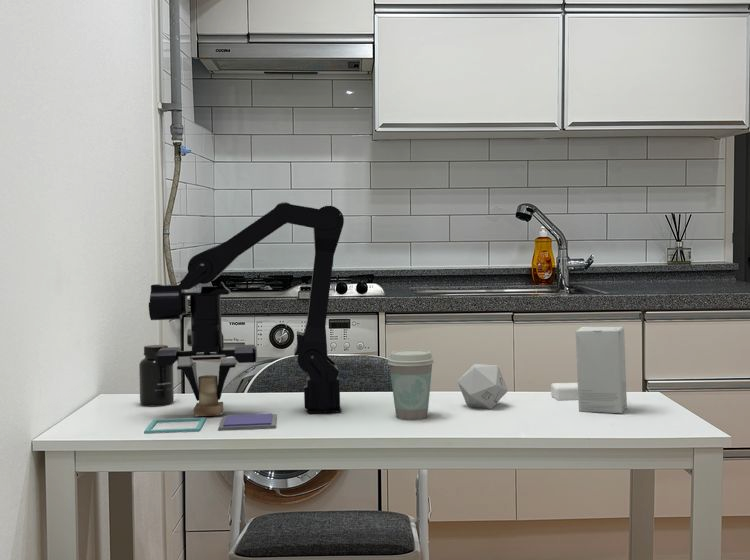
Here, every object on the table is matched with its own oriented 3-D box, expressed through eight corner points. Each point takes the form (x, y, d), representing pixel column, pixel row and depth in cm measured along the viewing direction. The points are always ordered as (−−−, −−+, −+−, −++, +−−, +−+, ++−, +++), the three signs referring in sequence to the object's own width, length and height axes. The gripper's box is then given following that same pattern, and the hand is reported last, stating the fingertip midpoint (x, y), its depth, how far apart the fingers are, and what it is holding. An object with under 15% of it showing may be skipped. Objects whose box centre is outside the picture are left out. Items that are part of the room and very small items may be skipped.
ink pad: (276, 416, 158) (276, 412, 158) (275, 428, 148) (275, 423, 148) (223, 418, 157) (223, 414, 157) (218, 430, 147) (218, 426, 147)
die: (472, 416, 158) (504, 374, 157) (441, 388, 164) (472, 347, 163) (492, 424, 165) (523, 383, 163) (462, 396, 170) (492, 357, 169)
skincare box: (627, 408, 159) (626, 326, 158) (622, 415, 153) (621, 330, 152) (582, 405, 163) (582, 325, 162) (575, 411, 157) (575, 328, 156)
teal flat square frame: (205, 419, 157) (205, 417, 157) (200, 431, 147) (199, 428, 147) (153, 421, 156) (153, 419, 156) (144, 433, 146) (144, 431, 146)
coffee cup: (382, 420, 153) (380, 354, 152) (398, 410, 161) (396, 348, 160) (426, 422, 150) (425, 356, 149) (440, 413, 158) (439, 350, 157)
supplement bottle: (165, 407, 170) (163, 348, 169) (134, 406, 171) (132, 348, 170) (179, 400, 176) (177, 343, 176) (149, 400, 178) (147, 343, 177)
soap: (556, 402, 168) (556, 387, 168) (550, 397, 173) (550, 382, 173) (601, 401, 168) (601, 386, 168) (593, 395, 173) (593, 381, 173)
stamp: (223, 409, 163) (222, 374, 163) (221, 415, 158) (219, 378, 158) (197, 410, 163) (196, 375, 163) (194, 416, 158) (193, 379, 158)
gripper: (257, 313, 169) (259, 390, 170) (162, 316, 167) (165, 394, 168) (254, 318, 158) (257, 400, 158) (153, 321, 156) (156, 404, 157)
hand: (208, 399), depth 161 cm, fingers closed on stamp, 4 cm apart
